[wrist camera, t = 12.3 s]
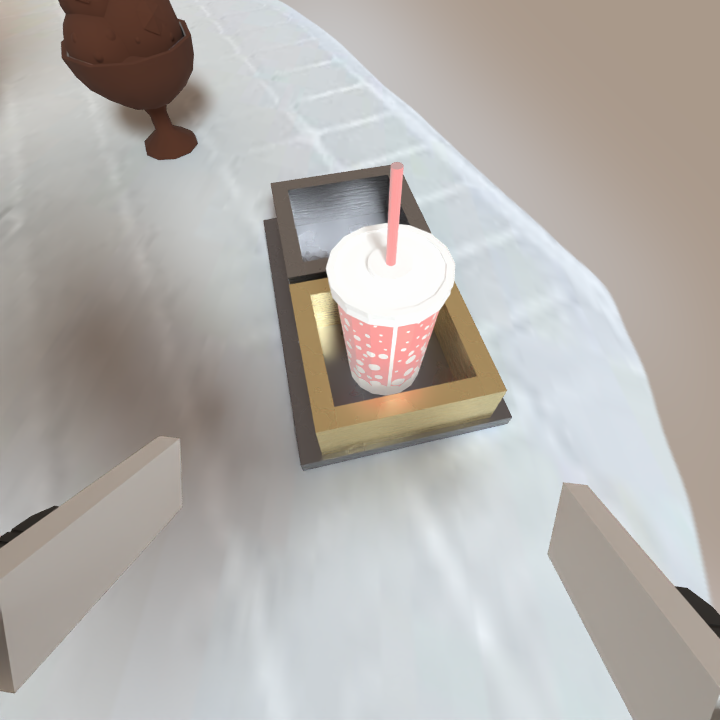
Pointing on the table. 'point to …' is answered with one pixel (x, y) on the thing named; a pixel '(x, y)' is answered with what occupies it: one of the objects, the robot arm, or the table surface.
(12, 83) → the table surface
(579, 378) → the table surface
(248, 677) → the table surface
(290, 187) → the square compartment tray
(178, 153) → the ice cream bowl
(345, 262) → the beverage cup
